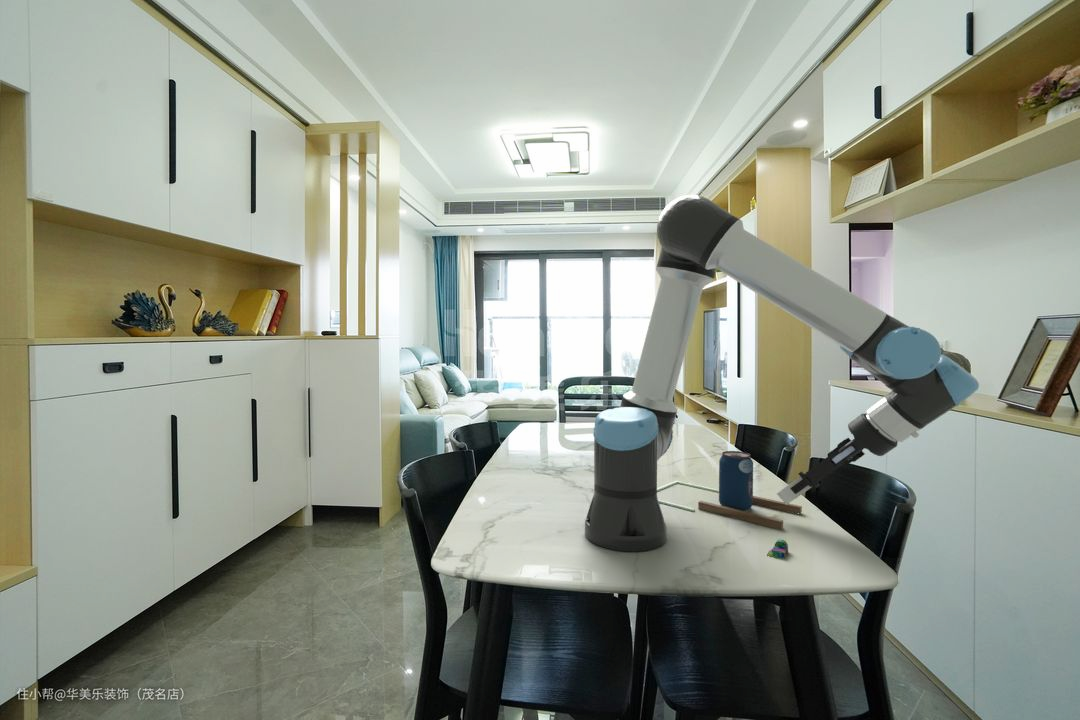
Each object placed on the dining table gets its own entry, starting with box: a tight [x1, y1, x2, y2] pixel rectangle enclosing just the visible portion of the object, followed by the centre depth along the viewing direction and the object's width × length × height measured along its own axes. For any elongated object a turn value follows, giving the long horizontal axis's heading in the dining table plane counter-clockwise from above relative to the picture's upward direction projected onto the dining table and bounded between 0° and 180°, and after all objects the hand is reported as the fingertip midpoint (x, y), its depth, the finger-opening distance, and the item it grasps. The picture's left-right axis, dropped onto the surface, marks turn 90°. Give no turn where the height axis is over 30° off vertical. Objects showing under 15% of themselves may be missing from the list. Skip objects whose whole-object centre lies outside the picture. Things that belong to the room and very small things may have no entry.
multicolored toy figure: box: [766, 538, 789, 559], centre depth 82 cm, size 4×3×2 cm, turn 142°
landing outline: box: [657, 480, 719, 512], centre depth 114 cm, size 18×14×1 cm
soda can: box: [718, 450, 754, 512], centre depth 105 cm, size 7×7×12 cm
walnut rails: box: [697, 495, 803, 530], centre depth 103 cm, size 13×17×2 cm
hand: (782, 498), depth 99 cm, fingers closed
